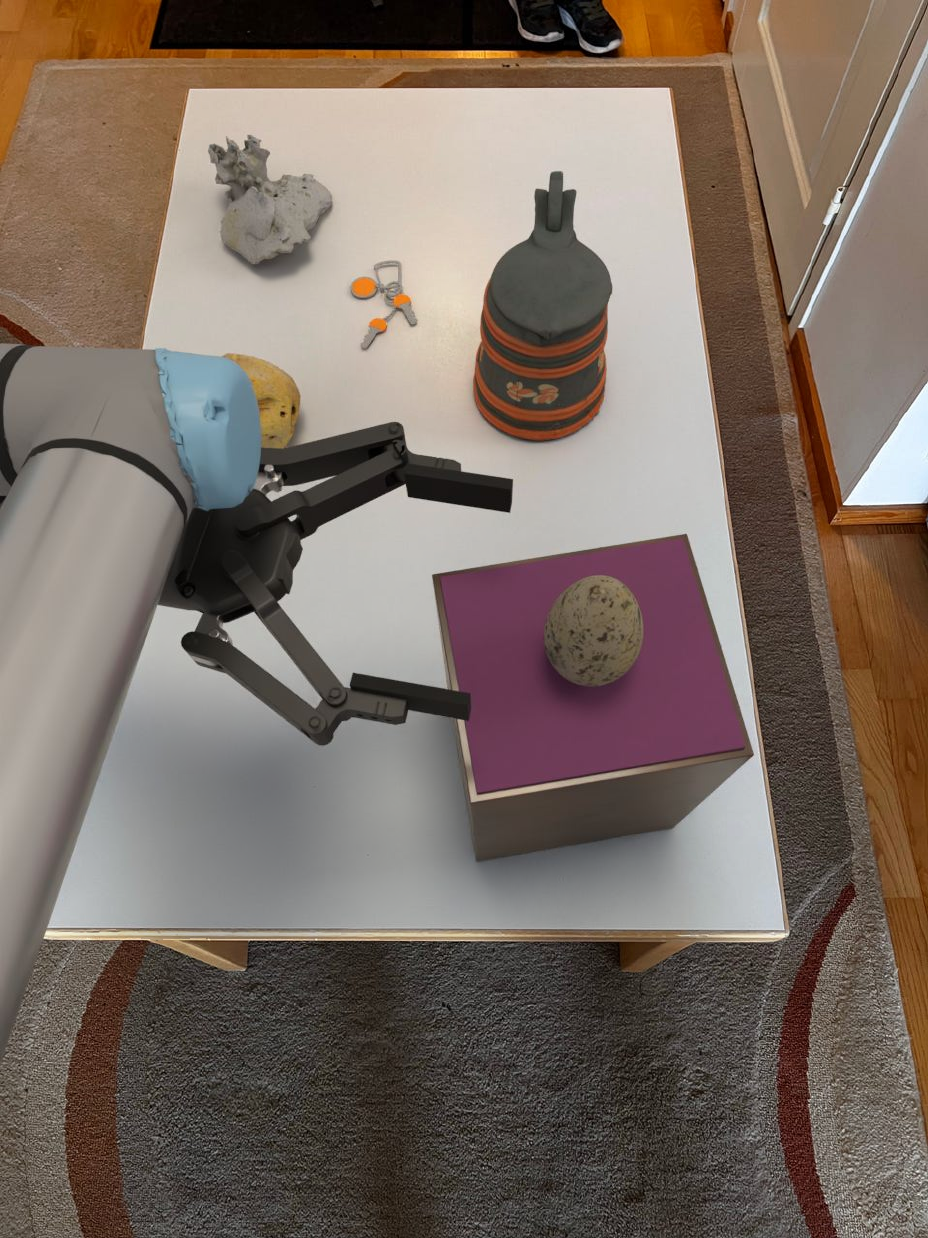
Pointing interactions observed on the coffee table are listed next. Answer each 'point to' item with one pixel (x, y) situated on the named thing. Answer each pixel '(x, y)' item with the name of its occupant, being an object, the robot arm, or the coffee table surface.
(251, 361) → the tan rounded lump
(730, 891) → the coffee table surface
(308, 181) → the coral
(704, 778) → the plinth
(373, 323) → the key chain
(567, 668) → the decorative egg
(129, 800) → the coffee table surface
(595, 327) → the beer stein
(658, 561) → the cloth
